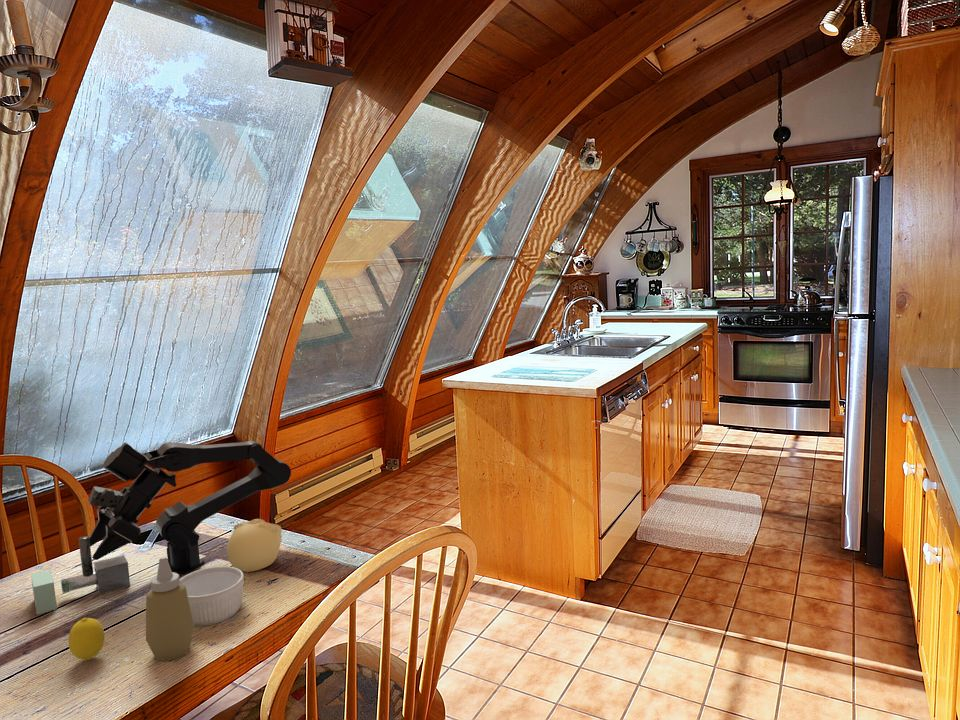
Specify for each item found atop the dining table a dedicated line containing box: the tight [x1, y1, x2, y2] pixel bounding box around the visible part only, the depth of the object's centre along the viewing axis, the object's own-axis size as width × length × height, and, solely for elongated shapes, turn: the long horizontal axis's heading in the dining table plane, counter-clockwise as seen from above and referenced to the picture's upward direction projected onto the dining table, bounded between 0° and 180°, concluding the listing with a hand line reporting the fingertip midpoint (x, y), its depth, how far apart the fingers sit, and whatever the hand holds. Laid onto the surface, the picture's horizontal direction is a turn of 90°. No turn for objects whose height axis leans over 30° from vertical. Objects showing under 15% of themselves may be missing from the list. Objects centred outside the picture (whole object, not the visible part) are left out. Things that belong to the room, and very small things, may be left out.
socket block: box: [30, 568, 58, 615], centre depth 140 cm, size 4×8×6 cm, turn 37°
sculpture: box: [226, 518, 283, 573], centre depth 156 cm, size 11×12×11 cm
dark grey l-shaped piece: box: [60, 535, 98, 594], centre depth 145 cm, size 12×3×11 cm, turn 127°
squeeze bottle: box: [145, 556, 195, 662], centre depth 120 cm, size 8×8×18 cm
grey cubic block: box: [93, 554, 131, 595], centre depth 148 cm, size 6×5×6 cm
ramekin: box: [179, 565, 245, 627], centre depth 135 cm, size 13×13×7 cm
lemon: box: [68, 617, 106, 661], centre depth 119 cm, size 6×6×8 cm
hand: (91, 552), depth 145 cm, fingers open, 9 cm apart
